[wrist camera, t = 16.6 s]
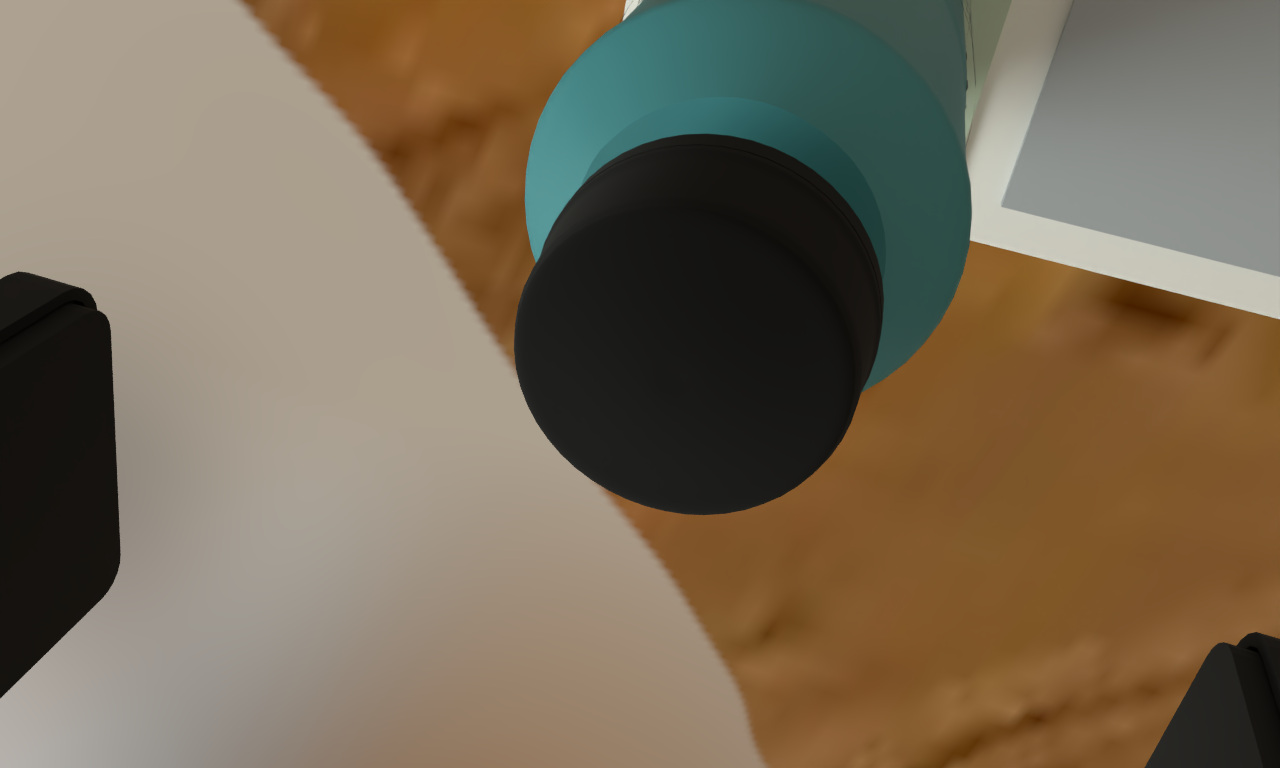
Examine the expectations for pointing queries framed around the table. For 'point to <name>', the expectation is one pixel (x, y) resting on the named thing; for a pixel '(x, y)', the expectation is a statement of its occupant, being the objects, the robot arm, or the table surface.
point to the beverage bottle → (739, 237)
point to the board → (1130, 140)
